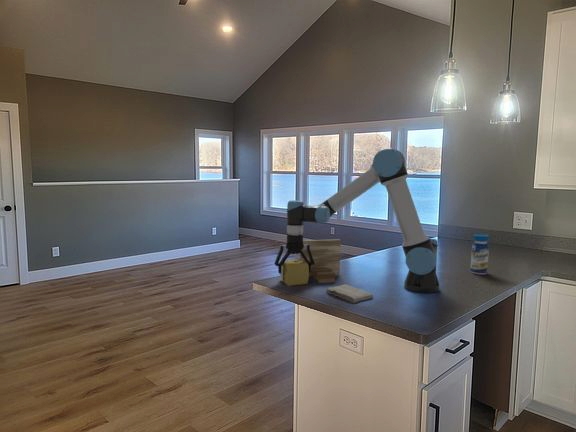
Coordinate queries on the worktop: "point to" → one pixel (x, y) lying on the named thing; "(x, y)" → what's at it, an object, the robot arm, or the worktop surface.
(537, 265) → the worktop surface
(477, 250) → the beverage bottle
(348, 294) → the washcloth
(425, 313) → the worktop surface
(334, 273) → the wall board
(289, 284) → the cheese
